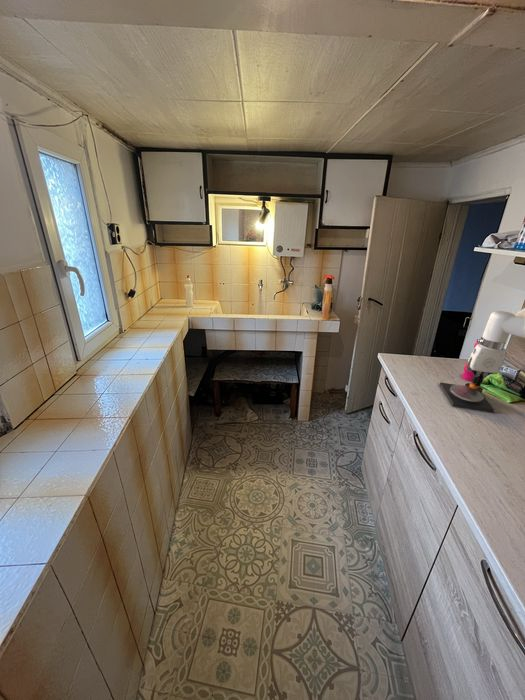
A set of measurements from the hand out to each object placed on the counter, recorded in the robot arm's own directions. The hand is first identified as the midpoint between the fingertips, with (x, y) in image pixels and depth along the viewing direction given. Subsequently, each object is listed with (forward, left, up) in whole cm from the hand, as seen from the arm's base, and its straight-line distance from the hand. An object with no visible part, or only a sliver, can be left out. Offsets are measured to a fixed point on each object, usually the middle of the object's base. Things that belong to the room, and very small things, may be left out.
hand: (475, 384), depth 116 cm
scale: (+5, +5, -4) cm, 8 cm away
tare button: (0, 0, -2) cm, 2 cm away
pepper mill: (-4, -14, -5) cm, 15 cm away
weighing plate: (+6, +7, -1) cm, 9 cm away
